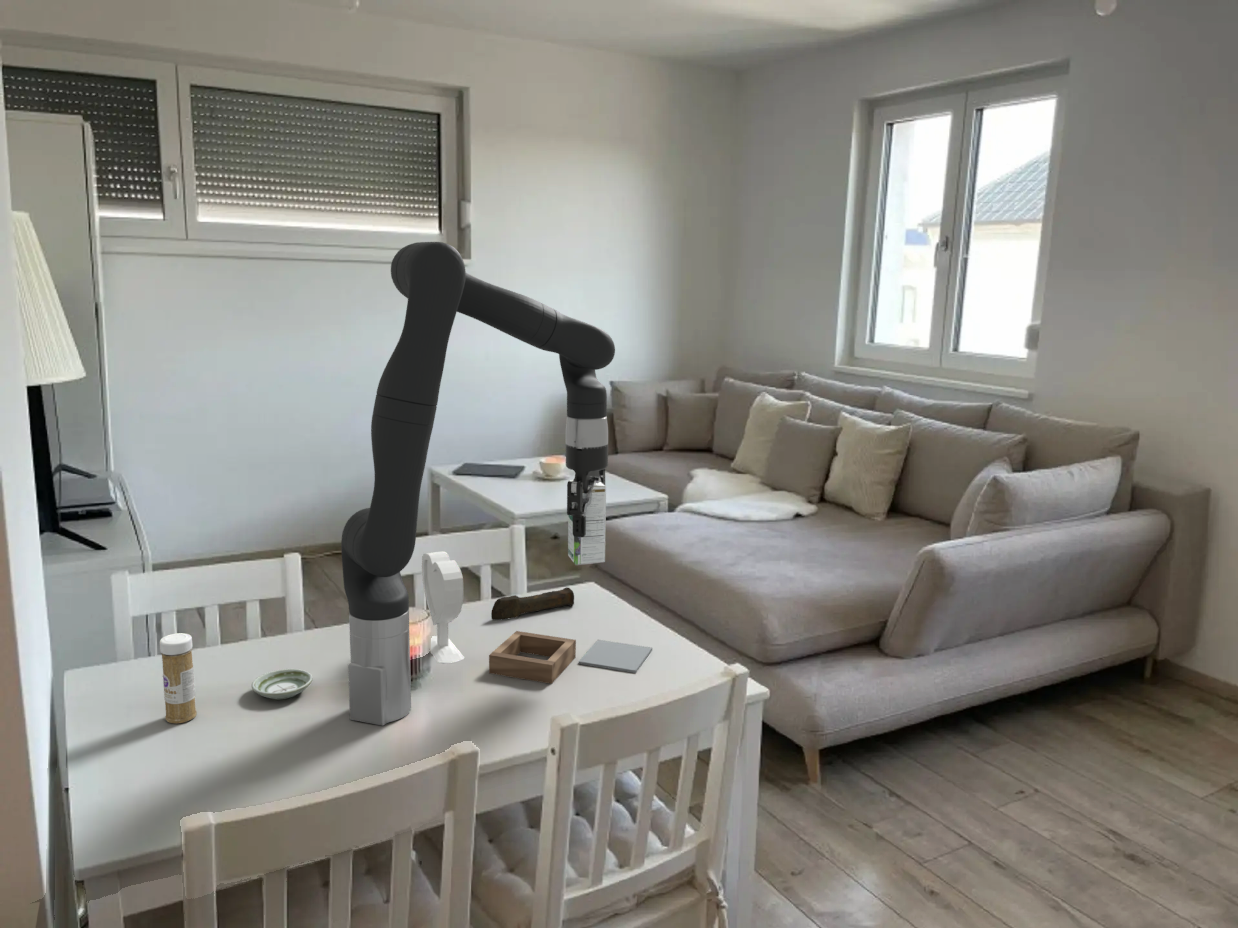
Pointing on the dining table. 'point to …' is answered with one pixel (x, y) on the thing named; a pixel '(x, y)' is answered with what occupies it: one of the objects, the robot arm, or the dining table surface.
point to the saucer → (282, 683)
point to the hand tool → (530, 603)
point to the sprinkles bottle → (178, 677)
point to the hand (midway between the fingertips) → (586, 529)
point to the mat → (616, 656)
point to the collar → (531, 668)
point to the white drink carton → (590, 530)
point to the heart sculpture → (443, 601)
